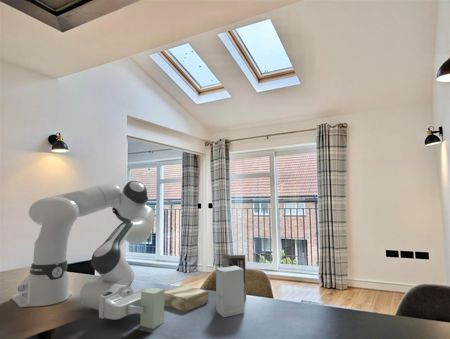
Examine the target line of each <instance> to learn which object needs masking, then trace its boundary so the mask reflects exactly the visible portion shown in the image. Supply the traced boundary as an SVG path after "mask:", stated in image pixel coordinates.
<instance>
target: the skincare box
mask: <svg viewBox="0 0 450 339" xmlns="http://www.w3.org/2000/svg"><path fill="white" fill-rule="evenodd" d="M215 285H216V287H215V289H216V290H215V297H216V301H215V303H216V312H217V314H219V315H220V316H221V317H223V318H227V317H232V316H236V315H237V316H238V315H242V314H245V301H244V269H242V268H240V267H238V266H230V267H224V268H222V267H216V268H215Z"/></svg>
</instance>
